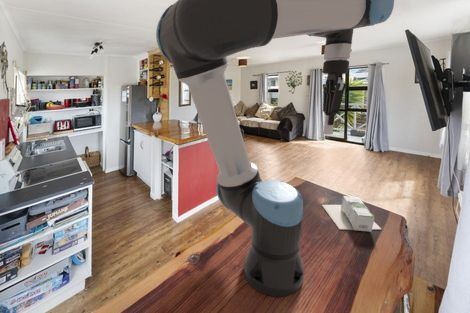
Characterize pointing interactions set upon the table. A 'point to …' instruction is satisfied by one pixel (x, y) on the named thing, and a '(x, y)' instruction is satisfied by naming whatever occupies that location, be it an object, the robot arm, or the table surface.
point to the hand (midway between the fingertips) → (327, 133)
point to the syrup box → (357, 213)
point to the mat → (341, 218)
